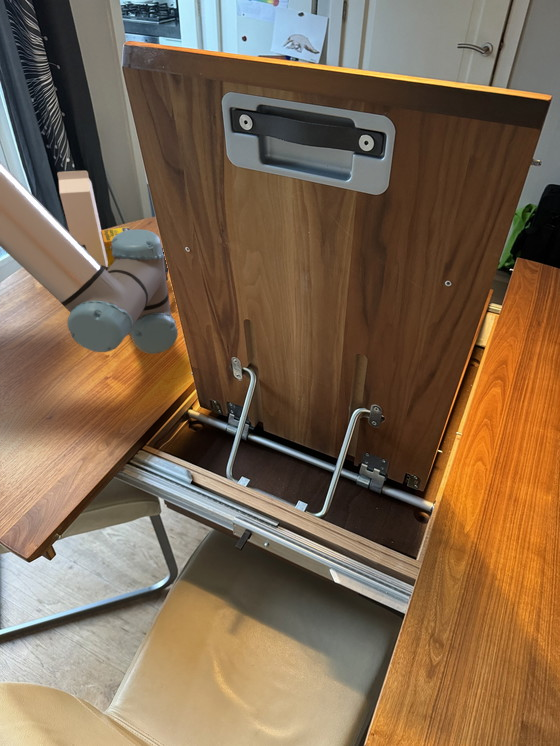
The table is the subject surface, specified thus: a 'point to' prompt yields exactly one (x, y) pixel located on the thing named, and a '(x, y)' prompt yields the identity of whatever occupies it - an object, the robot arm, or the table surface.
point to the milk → (82, 212)
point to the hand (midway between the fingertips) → (117, 245)
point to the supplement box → (110, 241)
